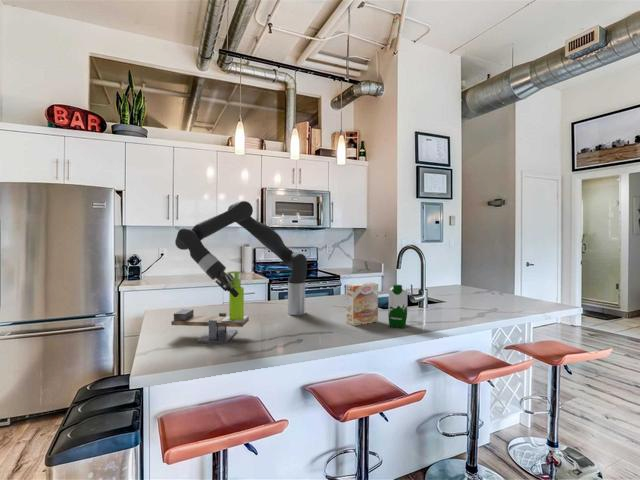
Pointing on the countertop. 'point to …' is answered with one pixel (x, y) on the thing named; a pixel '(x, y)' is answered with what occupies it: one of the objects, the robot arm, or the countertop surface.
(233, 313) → the soap dispenser
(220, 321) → the seesaw board
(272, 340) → the countertop surface
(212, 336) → the seesaw stand
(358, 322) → the coffeecake box
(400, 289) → the milk carton
